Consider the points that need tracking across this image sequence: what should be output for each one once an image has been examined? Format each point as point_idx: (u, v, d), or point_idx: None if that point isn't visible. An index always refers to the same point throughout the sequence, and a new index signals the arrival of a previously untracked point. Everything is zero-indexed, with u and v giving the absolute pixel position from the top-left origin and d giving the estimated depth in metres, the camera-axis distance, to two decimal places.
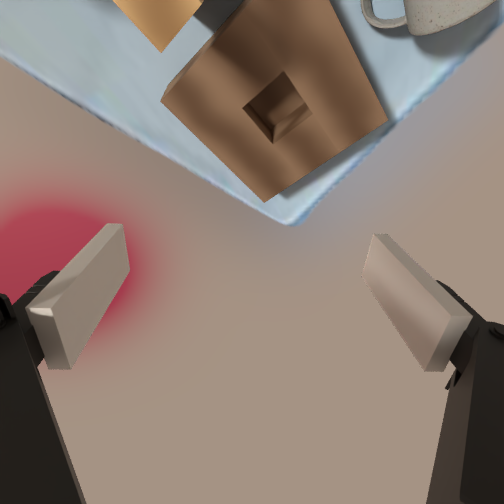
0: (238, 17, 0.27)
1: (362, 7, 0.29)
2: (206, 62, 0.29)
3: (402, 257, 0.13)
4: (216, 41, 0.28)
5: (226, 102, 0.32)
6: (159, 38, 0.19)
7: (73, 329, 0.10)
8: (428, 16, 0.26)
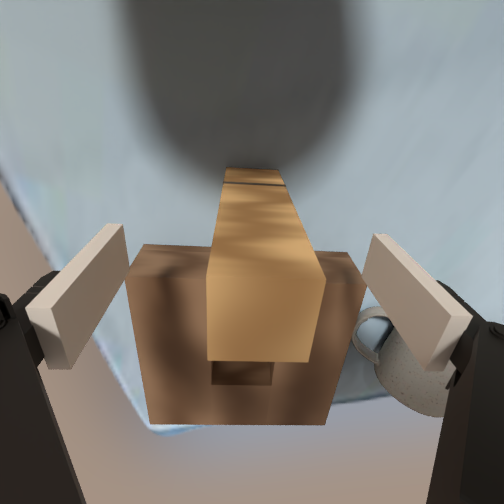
0: None
1: (355, 327, 0.30)
2: None
3: (402, 257, 0.13)
4: None
5: (200, 327, 0.24)
6: (222, 350, 0.11)
7: (73, 329, 0.10)
8: (403, 389, 0.27)
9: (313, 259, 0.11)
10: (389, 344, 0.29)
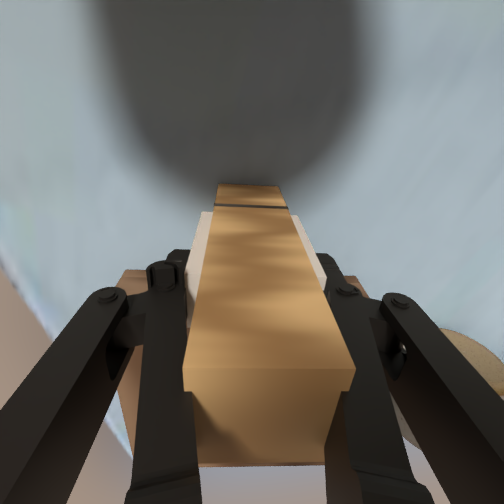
0: None
1: None
2: None
3: None
4: None
5: None
6: (209, 452, 0.08)
7: None
8: None
9: (333, 329, 0.08)
10: None
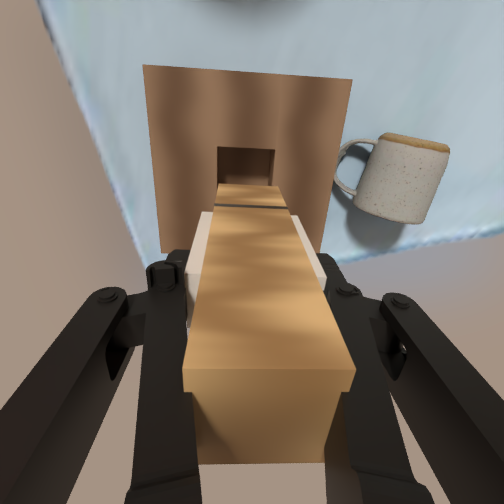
0: (275, 75, 0.26)
1: None
2: (219, 79, 0.26)
3: None
4: (242, 72, 0.25)
5: (207, 129, 0.27)
6: (209, 453, 0.08)
7: None
8: (375, 199, 0.30)
9: (333, 329, 0.08)
10: (364, 171, 0.32)
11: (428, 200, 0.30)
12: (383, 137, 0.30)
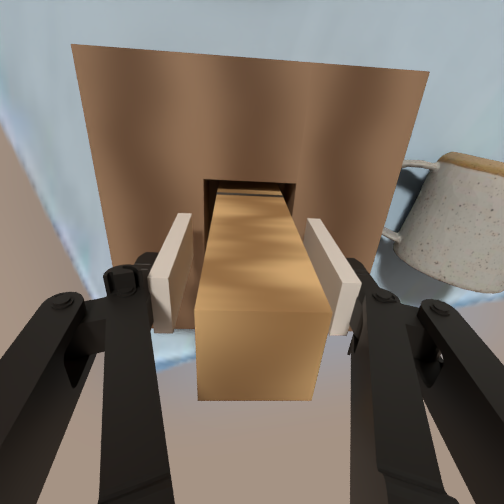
0: (300, 63, 0.15)
1: None
2: (205, 70, 0.15)
3: (323, 237, 0.15)
4: (245, 59, 0.15)
5: (187, 152, 0.17)
6: (215, 389, 0.10)
7: (174, 299, 0.12)
8: (437, 256, 0.20)
9: (316, 286, 0.10)
10: (415, 209, 0.22)
11: None
12: (451, 160, 0.19)
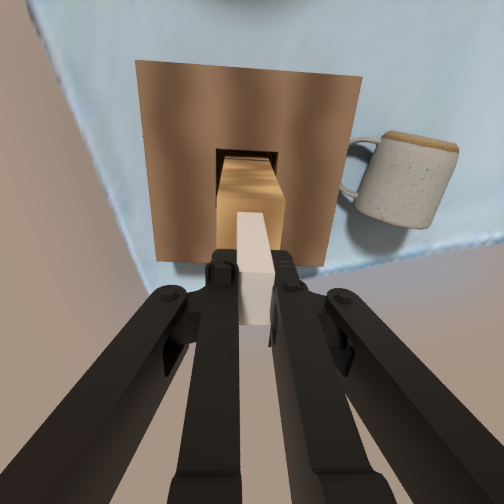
0: (278, 71, 0.24)
1: None
2: (218, 76, 0.24)
3: (257, 230, 0.15)
4: (243, 69, 0.23)
5: (205, 129, 0.25)
6: None
7: None
8: (378, 203, 0.28)
9: (280, 193, 0.18)
10: (366, 172, 0.30)
11: (435, 203, 0.28)
12: (386, 136, 0.28)
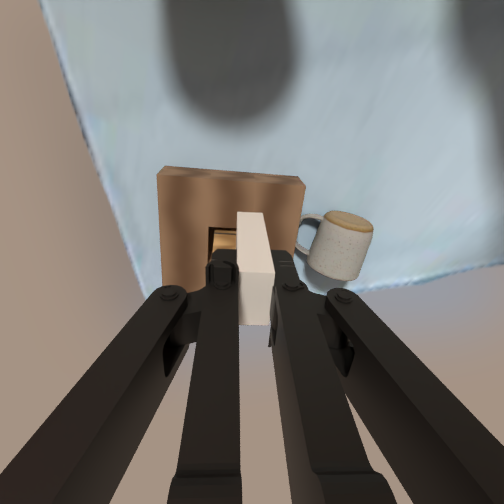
0: (250, 182, 0.36)
1: None
2: (211, 184, 0.36)
3: (257, 230, 0.15)
4: (227, 180, 0.36)
5: (201, 215, 0.38)
6: None
7: None
8: (320, 262, 0.41)
9: None
10: (314, 238, 0.43)
11: (358, 264, 0.40)
12: (326, 217, 0.40)
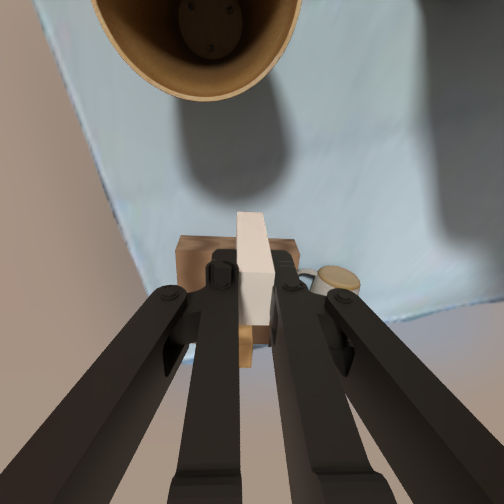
0: None
1: None
2: None
3: (257, 230, 0.15)
4: None
5: None
6: None
7: None
8: None
9: (251, 337, 0.38)
10: (310, 290, 0.50)
11: None
12: (319, 274, 0.47)
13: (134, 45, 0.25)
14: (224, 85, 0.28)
